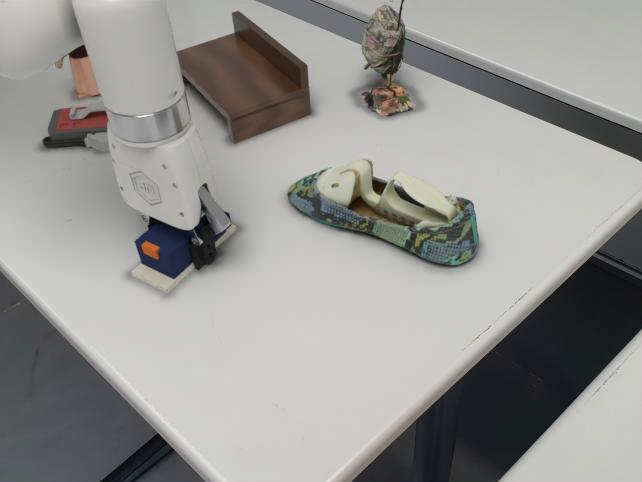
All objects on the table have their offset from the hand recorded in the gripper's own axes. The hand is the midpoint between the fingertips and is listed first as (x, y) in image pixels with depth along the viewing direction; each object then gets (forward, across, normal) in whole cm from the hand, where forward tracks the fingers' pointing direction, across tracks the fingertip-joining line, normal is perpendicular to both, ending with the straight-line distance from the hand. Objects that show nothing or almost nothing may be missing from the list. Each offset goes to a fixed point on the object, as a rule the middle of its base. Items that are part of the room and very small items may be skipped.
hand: (186, 252), depth 78 cm
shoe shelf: (+1, -15, +29) cm, 33 cm away
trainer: (0, 0, 0) cm, 0 cm away
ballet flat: (+1, +16, +16) cm, 23 cm away
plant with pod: (+1, +3, +40) cm, 40 cm away
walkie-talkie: (+1, -24, +14) cm, 28 cm away
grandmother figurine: (+1, -36, +20) cm, 41 cm away
